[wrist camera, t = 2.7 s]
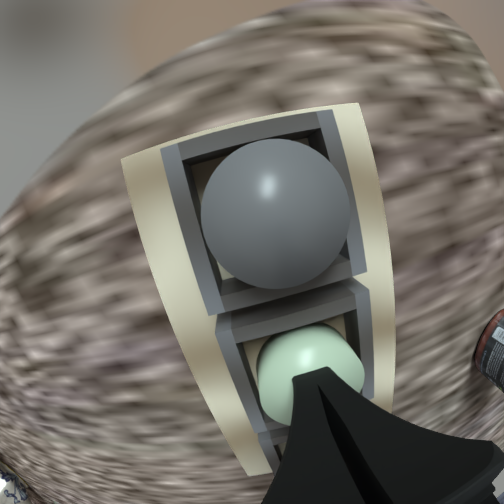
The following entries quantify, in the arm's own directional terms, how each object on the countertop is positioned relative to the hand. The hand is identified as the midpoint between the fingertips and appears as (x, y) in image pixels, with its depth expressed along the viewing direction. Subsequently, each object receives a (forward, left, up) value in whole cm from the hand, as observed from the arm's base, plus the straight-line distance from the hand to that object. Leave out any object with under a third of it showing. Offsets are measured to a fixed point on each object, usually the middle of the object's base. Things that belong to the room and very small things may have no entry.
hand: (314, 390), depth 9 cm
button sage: (0, 0, -2) cm, 2 cm away
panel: (0, 0, -4) cm, 4 cm away
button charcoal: (+4, +5, -2) cm, 7 cm away
